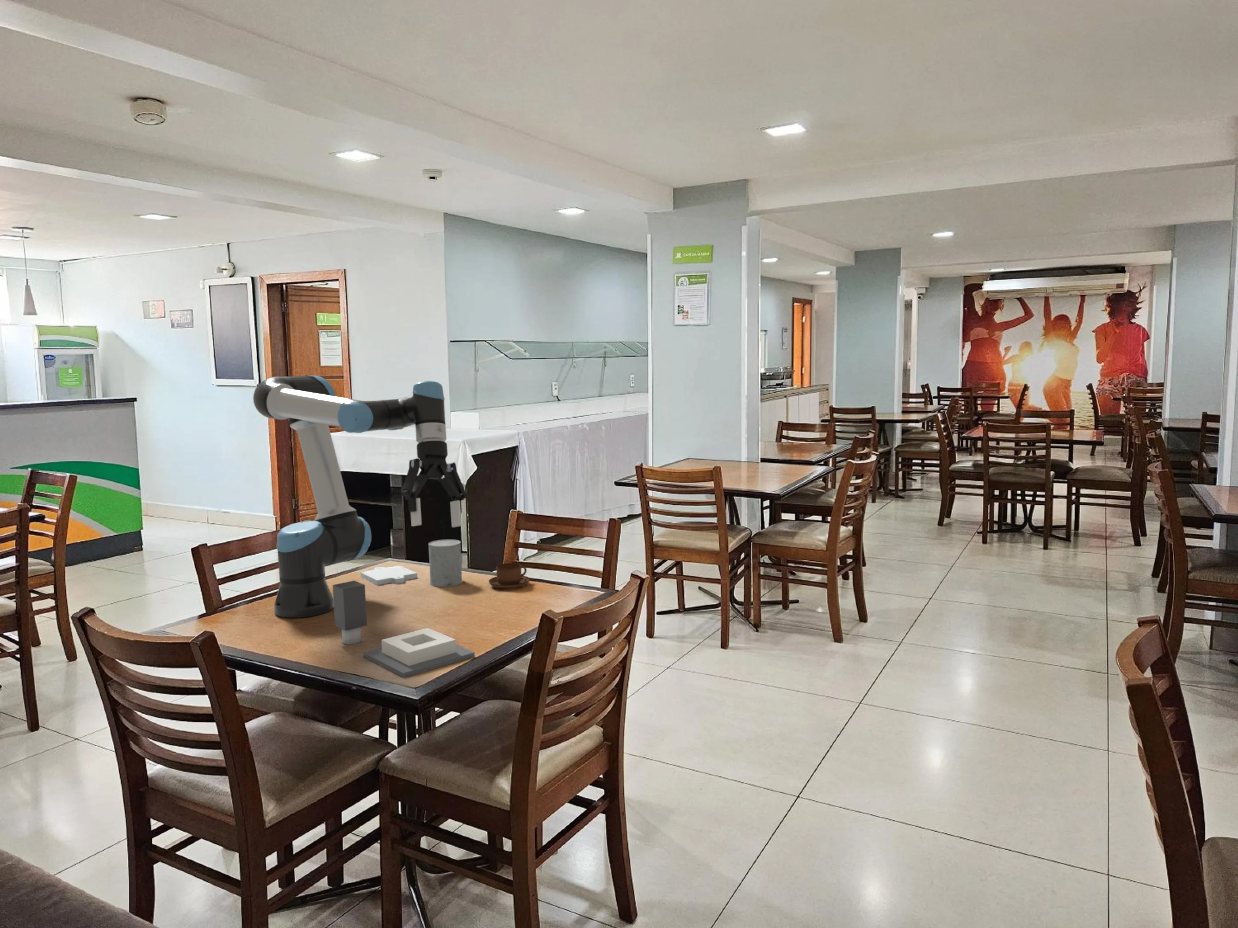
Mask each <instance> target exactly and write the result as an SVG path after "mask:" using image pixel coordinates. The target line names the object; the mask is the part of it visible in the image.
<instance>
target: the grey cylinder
mask: <svg viewBox="0 0 1238 928" xmlns="http://www.w3.org/2000/svg"><path fill="white" fill-rule="evenodd" d="M461 543H462V541H461V540H458V539H453V538H452V539H446V538H445V539H438V540H433V541H430V542H428V558H429V559H428V560H429V582H430V584H429V585H430V586H432V587H436V588H437V587H438V588H445V587H447V588H449V587H454V586H458V585H460V584H462V583H463V577H462V575H463V572H462V569H463V568H462V549H461V548H462V547H461Z"/></svg>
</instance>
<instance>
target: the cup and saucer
mask: <svg viewBox="0 0 1238 928" xmlns="http://www.w3.org/2000/svg"><path fill="white" fill-rule="evenodd" d="M495 568H496V569H495V570H496V571H495V572H496V576H494V577H491V578H490V579H489V580H488V583H489V585H490V586H492V587H494V588H495V589H496V588H497V589H507V590H509V589H510V590H511V589H516V588H517V589H518V588H521V587H524V586H527V584H528V583H529V582H530V577H528V576H526V574H527V567H526V566H525V565H522V564H520V563H516V562H505V563H499V564H498V565H496V567H495ZM522 569H523V570H524V572H523V573H522ZM521 578H523V579H521ZM525 579H527V580H525Z"/></svg>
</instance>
